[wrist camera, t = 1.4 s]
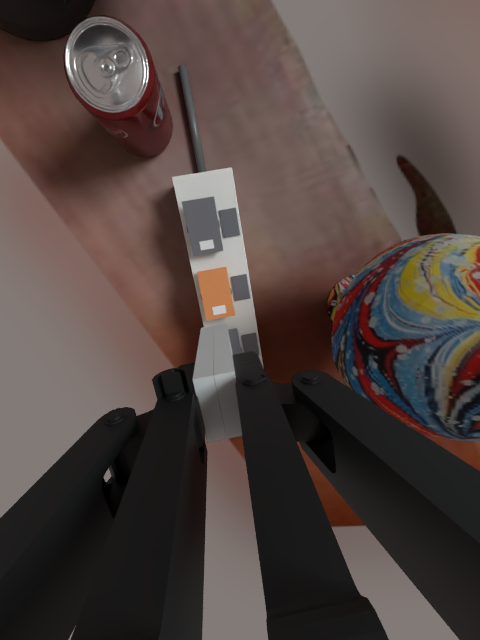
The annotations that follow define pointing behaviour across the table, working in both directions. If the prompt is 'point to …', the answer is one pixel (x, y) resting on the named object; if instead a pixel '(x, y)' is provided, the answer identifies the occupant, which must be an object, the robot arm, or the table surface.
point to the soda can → (118, 84)
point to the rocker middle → (216, 293)
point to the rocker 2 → (234, 341)
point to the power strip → (230, 230)
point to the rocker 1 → (203, 225)
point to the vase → (415, 333)
